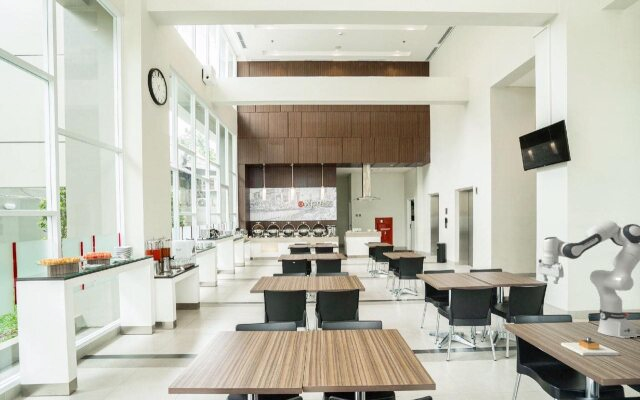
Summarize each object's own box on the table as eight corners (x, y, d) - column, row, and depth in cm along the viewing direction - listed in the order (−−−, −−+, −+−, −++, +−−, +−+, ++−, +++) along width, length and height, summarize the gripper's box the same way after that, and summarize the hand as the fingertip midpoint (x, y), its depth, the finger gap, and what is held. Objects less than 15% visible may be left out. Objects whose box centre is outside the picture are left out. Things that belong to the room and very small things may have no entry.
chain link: (589, 345, 211) (589, 339, 211) (599, 349, 205) (599, 343, 205) (578, 345, 211) (578, 339, 211) (587, 349, 204) (587, 343, 204)
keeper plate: (594, 345, 216) (594, 333, 217) (618, 355, 200) (618, 342, 201) (561, 345, 215) (561, 333, 215) (582, 355, 199) (582, 342, 199)
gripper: (566, 263, 244) (566, 285, 243) (545, 259, 265) (545, 280, 264) (557, 263, 244) (557, 285, 243) (536, 259, 264) (536, 280, 263)
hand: (550, 282), depth 254 cm, fingers open, 8 cm apart
